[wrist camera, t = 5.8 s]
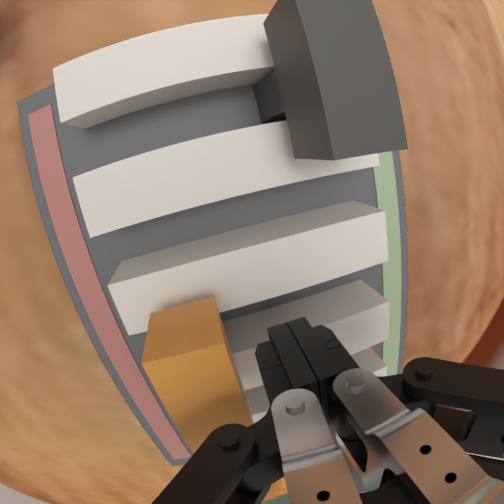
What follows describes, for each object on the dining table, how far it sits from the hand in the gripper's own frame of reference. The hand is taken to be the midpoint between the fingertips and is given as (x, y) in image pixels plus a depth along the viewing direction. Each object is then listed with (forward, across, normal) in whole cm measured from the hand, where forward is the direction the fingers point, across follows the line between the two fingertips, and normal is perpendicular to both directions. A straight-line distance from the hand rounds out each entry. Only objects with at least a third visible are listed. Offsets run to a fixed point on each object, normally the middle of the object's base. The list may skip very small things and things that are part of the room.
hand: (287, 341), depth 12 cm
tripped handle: (+4, +4, 0) cm, 6 cm away
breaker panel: (+8, 0, 0) cm, 8 cm away
